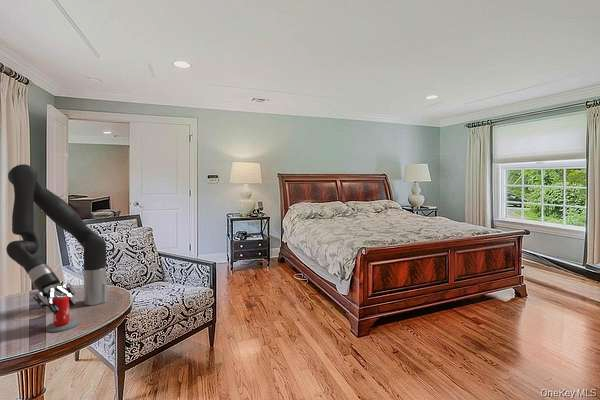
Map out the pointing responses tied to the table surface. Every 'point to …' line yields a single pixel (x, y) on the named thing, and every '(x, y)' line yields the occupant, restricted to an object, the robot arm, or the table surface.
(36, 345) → the table surface
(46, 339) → the table surface
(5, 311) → the table surface
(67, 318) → the beverage can
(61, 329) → the rubber mat
